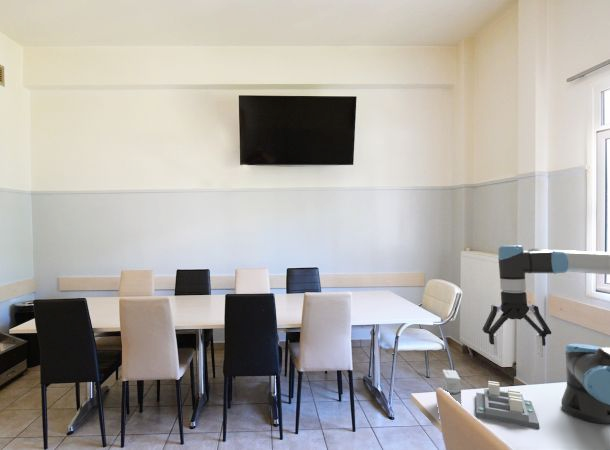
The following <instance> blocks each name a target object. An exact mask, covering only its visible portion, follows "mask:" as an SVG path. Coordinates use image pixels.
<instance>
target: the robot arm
mask: <svg viewBox="0 0 610 450" xmlns="http://www.w3.org/2000/svg"><path fill="white" fill-rule="evenodd" d="M498 268H499V269H498V270H499V282H500V284H499V286H500V287H499V288H500V290H501V292H500V299H501V300H500V301H501V305H495V304H492V305H491V306H490V307H491V308H490V309H491V310H490V313H489V314H488V317H487V319H486V321H485V323H484V325H483V327H482V332H483V333H485V334H487V335H488V342H489V344H490V345H492V352H493V355H495V356H499V355H498V354H499V353H498V341H497V335H496V333H497V331H498V330H499V329H500V327H502V326H503V324H504V323H505V322H506V321H508V320H509V319H510V320H522V319H524V320H525V321H526V322H527V323H528V324H529V325H530V326H531V327H532V328H533V329H534V330H535V332H537V334H535V339H536V352H537V355H538V356H539V357H544V350H543V349H544V348H543V346H544V347H545V346H546V337H547V335H551V334H552V331H551V329H550V328H549V326H548V324H547V323H546V321H545V320H544V318H543V316H542V315H541V313H540V310H539V309H540V308H539V306H537V305H535V304H532V305H528V296H527V292H526V291H527V285H526V274H554V275H556V274H565V273H566V272H567V273H583V274H594V275H595V274H597V275H610V252H609V251H608V252H607V251H583V250H566V249H565V250H564V249H563V250H562V249H544V248H543V249H541V248H540V249H539V248H531V249H528V250H525V249H524V246H523V245H519V244H518V245H515V244H514V245H501V246H499V248H498ZM499 311H501V312H502V313H501V315H500V316H499V318H498V319H497V320H496V321H495V322H494V320H495V318H496V316H497V313H499ZM529 311H530V312H531V313H532V314H533V315H534V317H535V318H536V320H537V322H538V323H539V325H540V327H542V329H541V328H540V327H539V325H537V323H535V322H534V321H533V320H532V319H531V318H530V316H529V315H527V314H528V312H529ZM493 322H494V324H493ZM492 324H493V325H492ZM564 354H565V369H566V372H565V373H566V375H565V376H566V387H565V390H564V392H563V395H562V397H561V409H562V410H563V411H564V412H565V413H567V414H568V415H570V416H572V417H574V418H576V419H579V420H583V421H585V422H590V423H594V424H595V423H596V424H603V425H605V424H606V425H607V424H608V425H609V424H610V345H609V346H604V347H602V346H599V345H592V344H584V343H568V344H567V345H566V346H565V352H564Z"/></svg>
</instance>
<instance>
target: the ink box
mask: <svg viewBox="0 0 610 450" xmlns="http://www.w3.org/2000/svg"><path fill="white" fill-rule="evenodd" d="M461 381H462V380H461V378H460V375H459V374H458V372H457V371H456V370H453V369H442V391H443V390H445V391H447V392H449V393H450V395H451V396H452V397H453V398H454V399H455V400H456V401H458V402H459V403H460V404H461V405H462V386H461V385H462V383H461Z"/></svg>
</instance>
